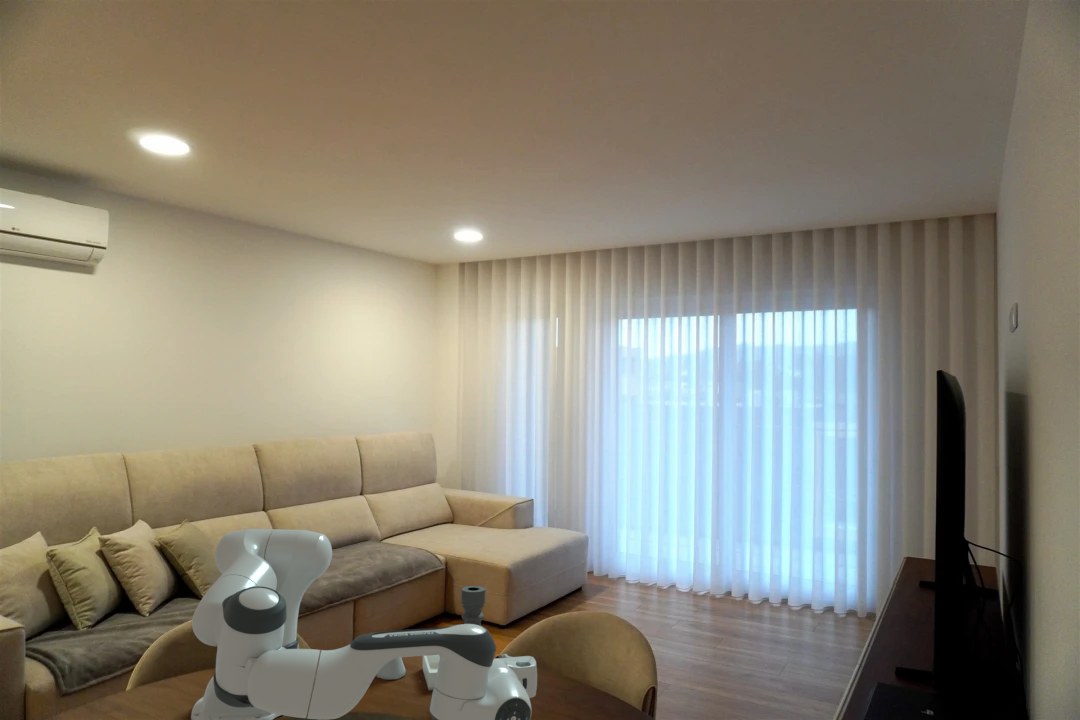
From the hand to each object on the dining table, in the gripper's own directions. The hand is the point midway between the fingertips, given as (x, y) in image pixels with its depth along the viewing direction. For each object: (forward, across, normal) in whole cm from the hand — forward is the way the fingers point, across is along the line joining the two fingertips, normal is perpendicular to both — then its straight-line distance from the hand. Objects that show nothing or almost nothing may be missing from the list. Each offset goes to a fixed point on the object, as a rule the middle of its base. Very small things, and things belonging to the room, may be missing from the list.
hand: (481, 659), depth 152 cm
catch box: (+26, -2, -13) cm, 29 cm away
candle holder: (+12, 0, -13) cm, 18 cm away
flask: (+30, -17, -13) cm, 37 cm away
